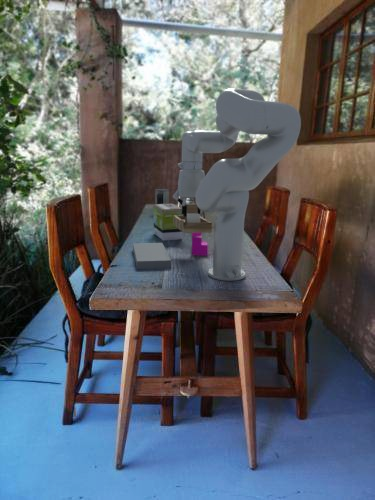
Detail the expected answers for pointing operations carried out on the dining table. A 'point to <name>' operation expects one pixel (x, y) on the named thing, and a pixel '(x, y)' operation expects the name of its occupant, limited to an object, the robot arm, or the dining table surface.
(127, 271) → the dining table surface
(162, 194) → the grey hollow cube
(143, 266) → the block
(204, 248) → the toy block
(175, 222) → the tan open boxy piece
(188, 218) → the grey box
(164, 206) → the tea box
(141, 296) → the dining table surface
